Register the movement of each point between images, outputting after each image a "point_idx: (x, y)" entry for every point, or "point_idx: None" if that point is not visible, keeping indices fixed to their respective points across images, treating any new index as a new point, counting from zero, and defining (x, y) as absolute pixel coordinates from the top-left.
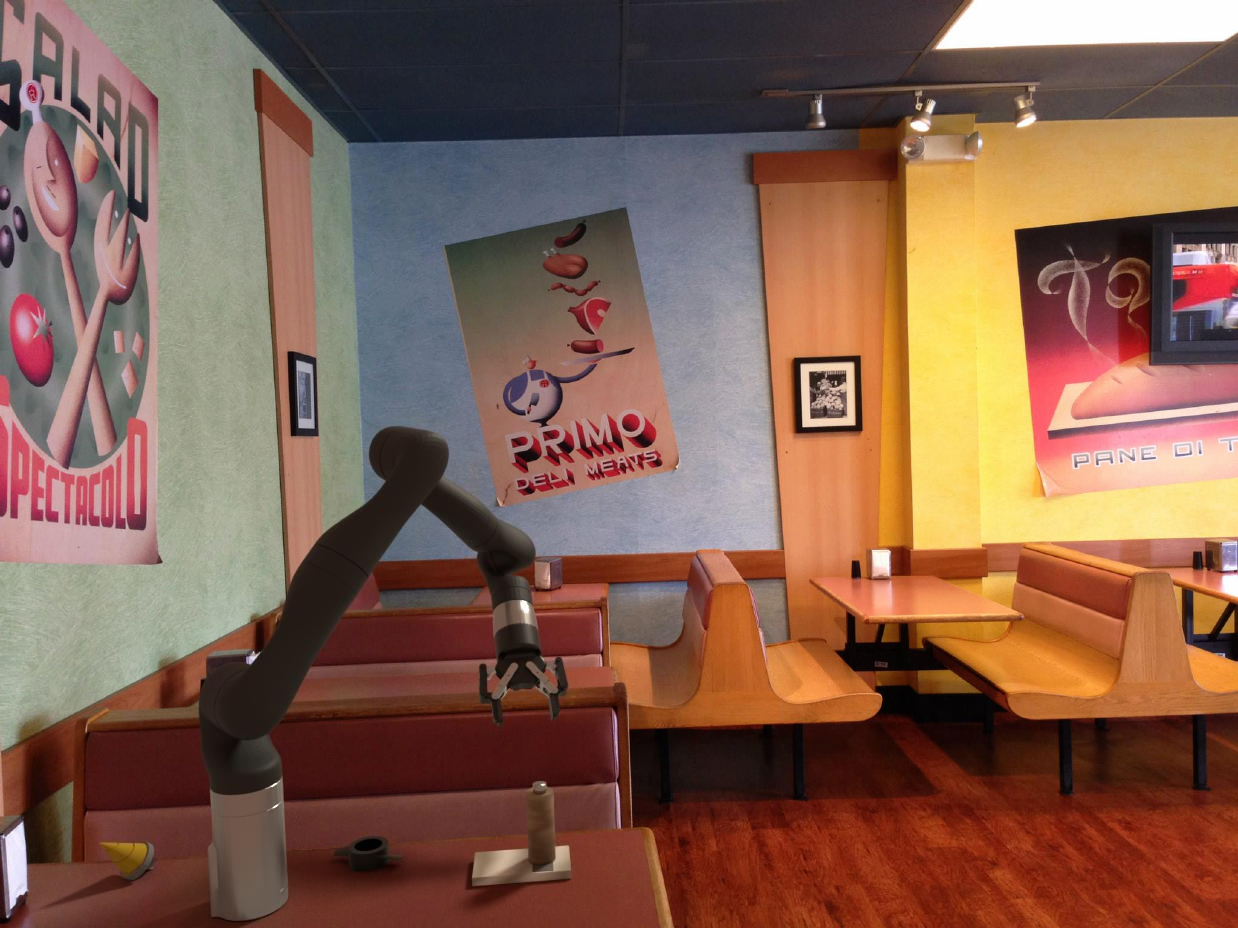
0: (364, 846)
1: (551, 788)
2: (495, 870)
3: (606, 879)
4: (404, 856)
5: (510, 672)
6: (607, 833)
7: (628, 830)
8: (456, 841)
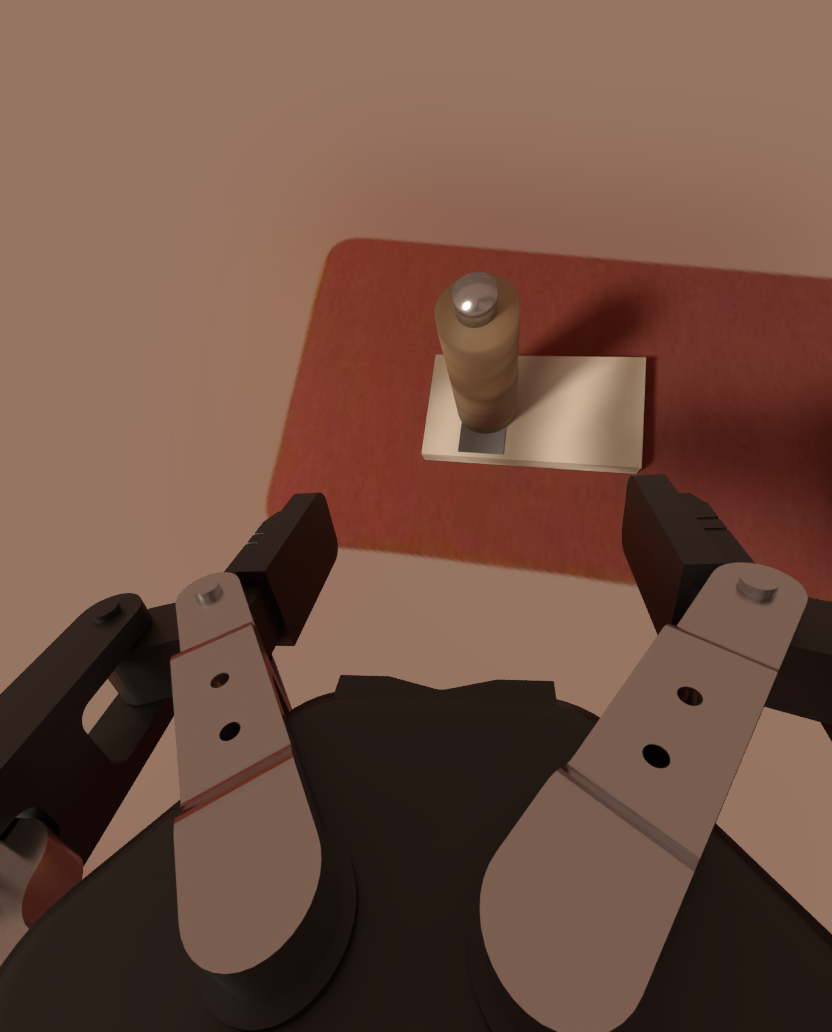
0: None
1: (437, 326)
2: (592, 378)
3: (377, 351)
4: None
5: (625, 800)
6: None
7: None
8: None
